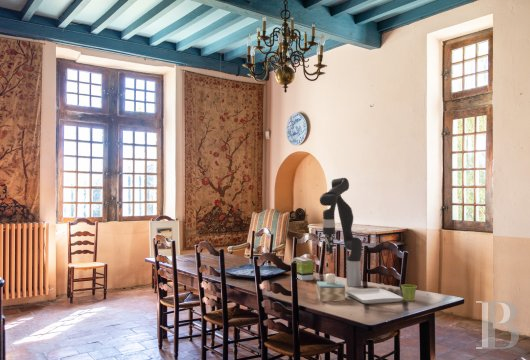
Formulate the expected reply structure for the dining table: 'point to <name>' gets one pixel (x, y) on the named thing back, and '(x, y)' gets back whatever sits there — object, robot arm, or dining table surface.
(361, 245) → the robot arm
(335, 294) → the woven basket
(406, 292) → the plant pot
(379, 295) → the square plate
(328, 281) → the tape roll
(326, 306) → the dining table surface
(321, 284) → the box lid
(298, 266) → the tea box
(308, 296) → the dining table surface
